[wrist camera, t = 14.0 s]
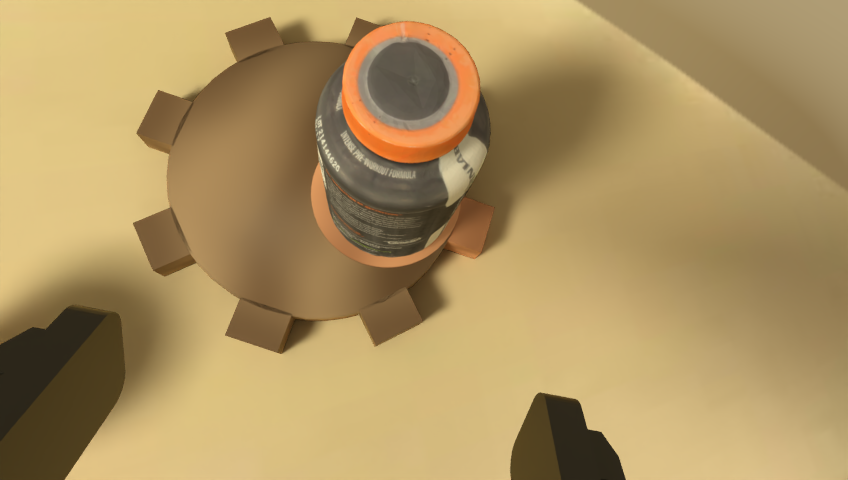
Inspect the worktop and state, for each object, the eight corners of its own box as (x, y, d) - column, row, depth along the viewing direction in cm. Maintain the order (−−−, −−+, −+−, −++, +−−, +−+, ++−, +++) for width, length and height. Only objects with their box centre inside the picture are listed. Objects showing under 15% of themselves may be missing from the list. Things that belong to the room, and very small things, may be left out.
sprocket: (523, 95, 31) (534, 79, 29) (430, 403, 26) (435, 405, 25) (226, -11, 30) (218, -35, 28) (79, 286, 26) (59, 280, 24)
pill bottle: (475, 217, 27) (556, 115, 16) (371, 283, 26) (382, 222, 15) (407, 118, 28) (440, -44, 17) (303, 178, 26) (264, 45, 15)
